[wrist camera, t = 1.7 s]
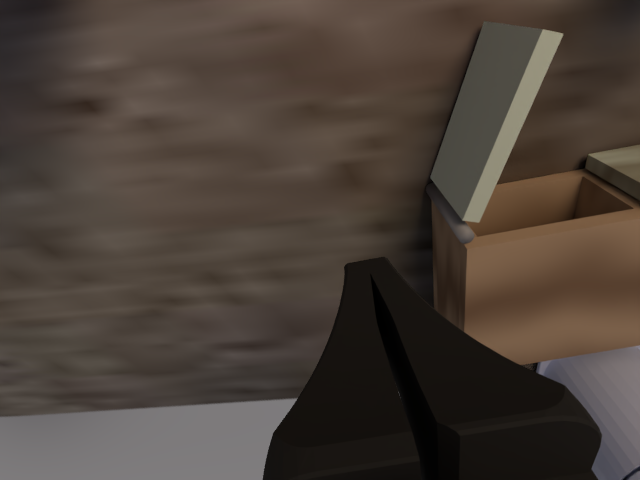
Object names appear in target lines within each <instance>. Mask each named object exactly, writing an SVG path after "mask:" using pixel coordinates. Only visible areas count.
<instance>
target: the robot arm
mask: <svg viewBox="0 0 640 480" xmlns="http://www.w3.org/2000/svg"><path fill="white" fill-rule="evenodd" d="M344 270H345V277H344V286H343V292H342V297H341V301H340V306H339V310H338V313H337V316H336V319H335V323H334V326H333V329H332V332H331V334H330V337H329V340H328V342H327V344H326V347H325V349H324V352H323V354H322V356H321V358H320V360H319V362H318V364H317V366H316V368H315V370H314V372H313V374H312V376H311V378H310V379H309V381H308V383H307V384H306V386H305V388H304V389H303V391H302V392H301V394H300V396H299V397H298V399H297V401H296V402H295V404H294V405H293V407H292V408H291V409H290V411H289V412H288V414H287V415H286V416H285V418H284V419H283V420H282V422H281V423H280V425H279V426H278V427H277V429H276V430H275V431H274V433H273V436H272V439H271V443H270V446H269V450H268V454H267V458H266V464H265V469H264V475H263V480H640V345H639V346H633V347H627V348H621V349H615V350H609V351H603V352H597V353H591V354H585V355H579V356H573V357H567V358H561V359H555V360H549V361H543V362H538V365H537V370H536V372H534V371H532V370H529V369H527V368H525V367H523V366H521V365H519V364H517V363H515V362H513V361H511V360H509V359H508V358H506V357H504V356H502V355H500V354H498V353H497V352H495V351H493V350H492V349H490V348H488V347H487V346H485V345H483V344H482V343H480V342H478V341H477V340H475V339H474V338H472V337H471V336H469V335H468V334H466V333H465V332H463V331H462V330H461V329H459V328H458V327H457V326H455V325H454V324H452V323H451V322H450V321H449V320H447V319H446V318H445V317H443V316H442V315H441V314H440V313H439V312H437V311H436V310H435V309H434V308H433V307H432V306H431V305H429V304H428V303H427V302H426V301H425V300H424V299H423V298H422V297H421V296H420V295H419V294H418V293H417V292H416V291H415V290H414V289H413V288H412V287H411V286H410V285H409V284H408V283H407V282H406V281H405V280H404V279H403V278H402V276H401V275H400V274H399V273H398V272H397V271H396V269H395V268H394V267H393V266H392V264H391V263H390V262H389V260H388V259H387V258H385V257H380V258H374V259H369V260H363V261H358V262H352V263H347V264H346V265H345V267H344ZM395 383H396V384H395ZM396 386H397V387H396ZM397 389H398V390H397ZM398 391H399V393H398ZM399 394H400V396H399ZM400 398H401V399H400Z"/></svg>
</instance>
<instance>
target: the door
mask: <svg viewBox="0 0 640 480" xmlns="http://www.w3.org/2000/svg"><path fill="white" fill-rule="evenodd" d="M562 36H563V34H562V33H557V32H553V31H548V30H543V29H537V28H529V27H522V26H515V25H508V24H501V23H494V22H487V21H484V23H483V26H482V29H481V32H480V35H479V38H478V41H477V43H476V46H475V49H474V52H473V55H472V58H471V61H470V64H469V67H468V69H467V72H466V75H465V78H464V81H463V84H462V87H461V90H460V93H459V95H458V98H457V101H456V104H455V107H454V110H453V113H452V116H451V119H450V121H449V124H448V127H447V130H446V133H445V136H444V139H443V142H442V144H441V147H440V150H439V153H438V156H437V159H436V162H435V165H434V168H433V170H432V173H431V176H430V178H431V179H432V181H433V182H434V183H430V184H428V185H427V186H426V192H427V194H428V195H429V197H430V198H431V200H432V201H433V203H434V204H435V206H436V207H437V208H438V210H439V211H440V213H441V214H442V216H443V217H444V219H445V220H446V222H447V223H448V225H449V226H450V228H451V229H452V231H453V232H454V234H455V235H456V237H457V238H458V239H459V241H460V242H461V243H463V244H467V243H470V242H471V241H472V240H473V239H474V233H473V231H472V230H471V229H470V227H469V226H468V225H467V223H466V222H465V221H470V222H477V223H479V222H480V220H481V217H482V215H483V213H484V211H485V208H486V206H487V204H488V202H489V199H490V197H491V195H492V193H493V190H494V188H495V186H496V184H497V182H498V179H499V177H500V175H501V173H502V170H503V168H504V166H505V164H506V161H507V159H508V157H509V155H510V152H511V150H512V148H513V146H514V144H515V141H516V139H517V137H518V135H519V132H520V130H521V128H522V126H523V123H524V121H525V119H526V117H527V114H528V112H529V110H530V108H531V106H532V103H533V101H534V99H535V97H536V94H537V92H538V90H539V88H540V85H541V83H542V81H543V79H544V76H545V74H546V72H547V70H548V68H549V65H550V63H551V61H552V59H553V56H554V54H555V52H556V50H557V47H558V45H559V43H560V41H561V38H562Z"/></svg>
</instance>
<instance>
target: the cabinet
mask: <svg viewBox="0 0 640 480" xmlns="http://www.w3.org/2000/svg"><path fill="white" fill-rule="evenodd" d="M431 201H432V200H431ZM465 222H466V223H467V225H468V226H469V227H470V229H471V230H472V231H473V233H474V239H473V240H472V241H471V242H470V243H467V244H463V243H461V242H460V241H459V239H458V238H457V237H456V235H455V234H454V232H453V231H452V229H451V228H450V226H449V225H448V223H447V222H446V220H445V219H444V217H443V216H442V214H441V213H440V211H439V210H438V208H437V207H436V206H435V204H434V203H433V201H432V243H433V286H434V309H435V310H436V311H437V312H439V313H440V314H441V315H442V316H443V317H445V318H446V319H447V320H449V321H450V322H451V323H452V324H454V325H455V326H457V327H458V328H459V329H461V330H462V331H463V332H465V333H466V334H468V335H469V336H471V337H472V338H474V339H475V340H477V341H478V342H480V343H482V344H483V345H485V346H487V347H488V348H490V349H492V350H493V351H495V352H497V353H498V354H500V355H502V356H504V357H506V358H508V359H509V360H511V361H513V362H515V363H517V364H519V365H525V364H531V363H537V362H543V361H549V360H555V359H561V358H567V357H573V356H579V355H585V354H591V353H597V352H603V351H609V350H615V349H621V348H627V347H633V346H639V345H640V145H635V146H630V147H625V148H619V149H614V150H609V151H603V152H598V153H593V154H588V156H587V161H586V166H585V169H580V170H574V171H569V172H563V173H558V174H553V175H547V176H542V177H537V178H531V179H526V180H520V181H515V182H510V183H504V184H499V185H496V186H495V188H494V190H493V193H492V195H491V197H490V199H489V202H488V204H487V206H486V208H485V211H484V213H483V215H482V217H481V220H480V222H479V223H477V222H470V221H465Z"/></svg>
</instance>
